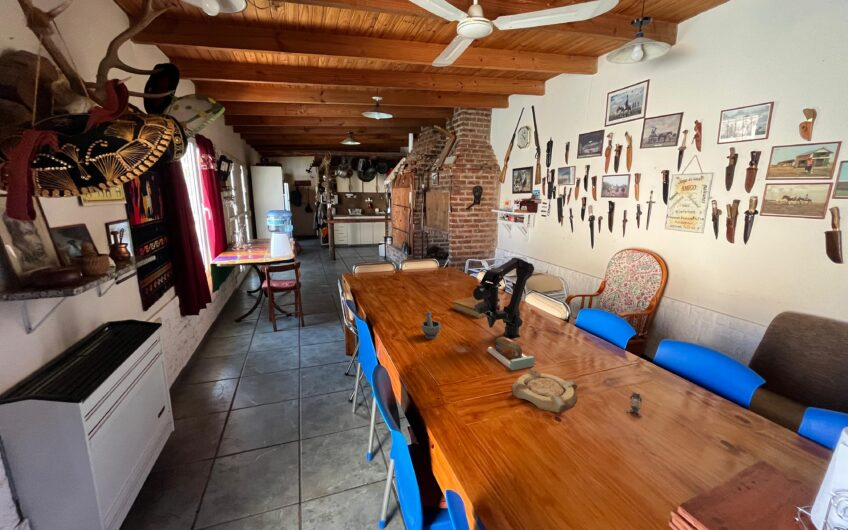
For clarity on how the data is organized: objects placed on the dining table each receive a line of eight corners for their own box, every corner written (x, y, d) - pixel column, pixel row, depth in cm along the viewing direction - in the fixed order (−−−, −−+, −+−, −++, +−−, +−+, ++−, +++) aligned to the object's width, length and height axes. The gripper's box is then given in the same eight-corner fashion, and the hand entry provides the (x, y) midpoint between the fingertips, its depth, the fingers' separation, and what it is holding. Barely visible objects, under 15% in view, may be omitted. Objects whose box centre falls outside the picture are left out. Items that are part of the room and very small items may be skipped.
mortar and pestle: (442, 339, 175) (443, 316, 173) (425, 341, 173) (425, 318, 170) (435, 331, 186) (435, 309, 184) (419, 333, 183) (418, 311, 181)
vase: (625, 403, 121) (629, 388, 119) (643, 410, 118) (647, 395, 116) (623, 410, 117) (626, 395, 115) (641, 418, 113) (645, 402, 112)
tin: (493, 351, 162) (494, 334, 160) (498, 350, 163) (499, 333, 162) (517, 364, 149) (518, 346, 147) (522, 363, 151) (523, 344, 149)
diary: (499, 313, 216) (500, 304, 215) (478, 319, 205) (479, 310, 204) (473, 304, 234) (473, 296, 233) (452, 309, 223) (452, 301, 222)
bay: (507, 347, 166) (508, 339, 165) (533, 365, 148) (534, 357, 147) (487, 351, 162) (488, 343, 161) (512, 370, 144) (512, 361, 143)
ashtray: (546, 421, 112) (547, 407, 111) (498, 386, 132) (498, 374, 132) (594, 401, 123) (596, 388, 122) (543, 372, 143) (544, 360, 142)
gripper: (467, 293, 171) (466, 323, 174) (487, 303, 154) (486, 336, 157) (487, 291, 175) (486, 320, 178) (508, 301, 158) (507, 333, 161)
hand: (490, 327), depth 168 cm, fingers closed
